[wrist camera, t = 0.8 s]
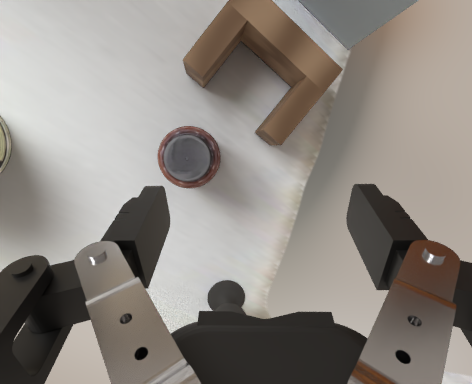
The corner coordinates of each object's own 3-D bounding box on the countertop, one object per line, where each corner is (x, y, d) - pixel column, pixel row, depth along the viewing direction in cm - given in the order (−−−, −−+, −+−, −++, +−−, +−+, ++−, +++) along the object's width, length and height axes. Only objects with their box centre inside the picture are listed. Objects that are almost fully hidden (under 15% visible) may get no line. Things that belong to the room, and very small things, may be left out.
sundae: (259, 284, 39) (290, 368, 24) (237, 327, 40) (254, 433, 25) (215, 265, 38) (219, 340, 23) (193, 309, 39) (184, 409, 24)
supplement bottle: (223, 172, 36) (230, 183, 25) (177, 185, 36) (163, 202, 25) (210, 125, 35) (211, 115, 24) (162, 138, 35) (141, 134, 24)
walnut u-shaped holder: (186, 73, 34) (182, 59, 29) (240, 4, 33) (247, -24, 28) (270, 145, 36) (281, 145, 31) (322, 81, 36) (342, 69, 30)
